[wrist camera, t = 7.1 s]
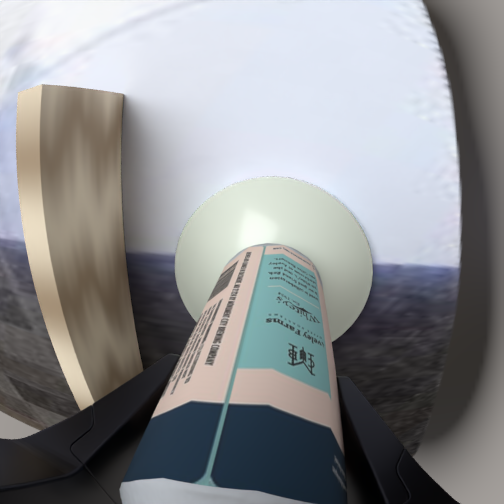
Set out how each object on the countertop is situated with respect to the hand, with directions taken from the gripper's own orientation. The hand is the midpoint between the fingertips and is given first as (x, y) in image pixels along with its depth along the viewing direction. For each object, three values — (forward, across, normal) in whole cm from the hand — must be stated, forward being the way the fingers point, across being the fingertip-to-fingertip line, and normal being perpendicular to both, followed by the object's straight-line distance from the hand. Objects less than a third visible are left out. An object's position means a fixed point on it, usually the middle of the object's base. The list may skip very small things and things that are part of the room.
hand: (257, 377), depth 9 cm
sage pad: (+7, 0, 0) cm, 7 cm away
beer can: (+6, 0, 0) cm, 6 cm away
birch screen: (+7, +9, 0) cm, 11 cm away
